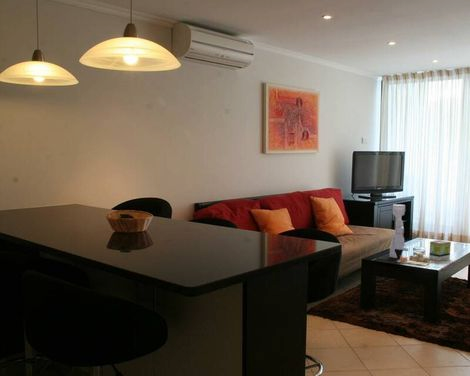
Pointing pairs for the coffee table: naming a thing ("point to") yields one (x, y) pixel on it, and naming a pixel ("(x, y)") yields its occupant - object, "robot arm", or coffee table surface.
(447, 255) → the tea box
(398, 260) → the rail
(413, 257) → the short block left
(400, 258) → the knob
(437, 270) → the coffee table surface
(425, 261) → the short block right
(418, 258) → the tall block middle
